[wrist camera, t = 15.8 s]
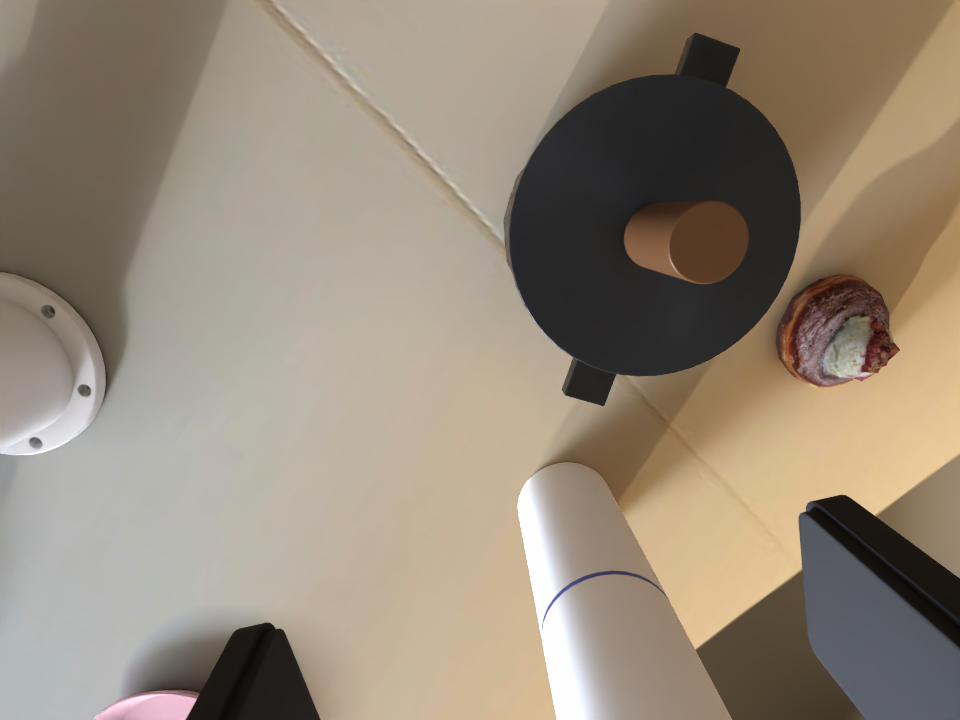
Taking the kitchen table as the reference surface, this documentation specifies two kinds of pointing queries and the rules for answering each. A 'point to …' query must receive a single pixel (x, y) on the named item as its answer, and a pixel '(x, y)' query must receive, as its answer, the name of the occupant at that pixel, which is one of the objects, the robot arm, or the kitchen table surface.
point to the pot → (696, 61)
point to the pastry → (835, 332)
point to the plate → (151, 706)
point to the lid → (654, 225)
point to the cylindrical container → (605, 609)
